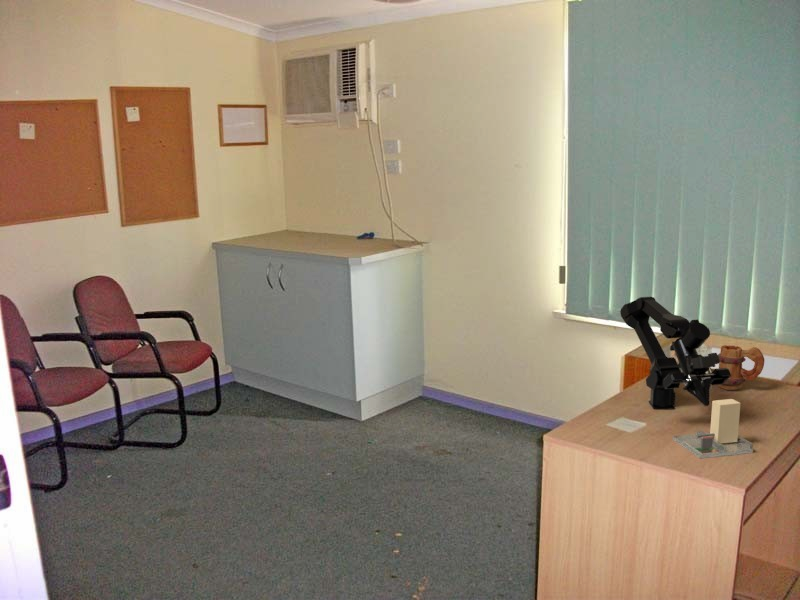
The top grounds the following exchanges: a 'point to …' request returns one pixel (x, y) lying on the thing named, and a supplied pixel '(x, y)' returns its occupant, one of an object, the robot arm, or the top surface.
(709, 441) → the drag pointer
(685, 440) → the gauge frame
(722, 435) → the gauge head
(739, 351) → the mug
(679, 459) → the top surface
